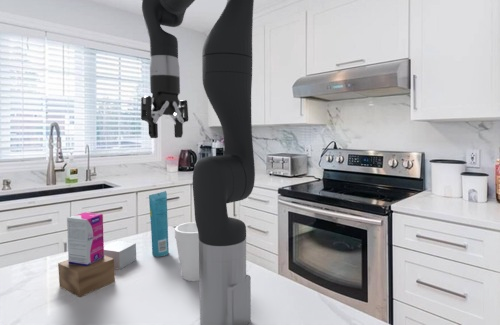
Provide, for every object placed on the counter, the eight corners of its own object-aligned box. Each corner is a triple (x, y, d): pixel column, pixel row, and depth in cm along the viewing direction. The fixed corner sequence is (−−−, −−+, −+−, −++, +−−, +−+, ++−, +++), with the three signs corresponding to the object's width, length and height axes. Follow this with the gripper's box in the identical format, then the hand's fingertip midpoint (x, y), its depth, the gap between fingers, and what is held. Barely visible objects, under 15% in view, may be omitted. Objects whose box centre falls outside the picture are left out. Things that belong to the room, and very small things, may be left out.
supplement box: (88, 266, 75) (85, 219, 74) (67, 264, 77) (65, 217, 75) (105, 257, 81) (103, 213, 79) (86, 255, 82) (83, 211, 81)
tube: (161, 248, 102) (159, 190, 100) (173, 250, 101) (172, 191, 99) (146, 257, 95) (143, 194, 94) (159, 259, 94) (157, 195, 92)
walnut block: (115, 281, 80) (113, 258, 80) (79, 297, 73) (78, 272, 72) (94, 272, 85) (93, 251, 85) (59, 286, 78) (58, 263, 77)
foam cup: (168, 277, 83) (167, 228, 81) (194, 264, 90) (193, 220, 89) (194, 287, 77) (193, 235, 76) (219, 273, 85) (218, 226, 83)
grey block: (136, 259, 94) (135, 243, 93) (119, 269, 87) (119, 251, 87) (117, 256, 96) (116, 240, 96) (99, 266, 89) (98, 249, 89)
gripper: (152, 70, 75) (155, 138, 77) (194, 78, 87) (195, 137, 89) (132, 73, 79) (135, 138, 81) (174, 80, 91) (176, 137, 93)
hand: (166, 137), depth 85 cm, fingers open, 8 cm apart
